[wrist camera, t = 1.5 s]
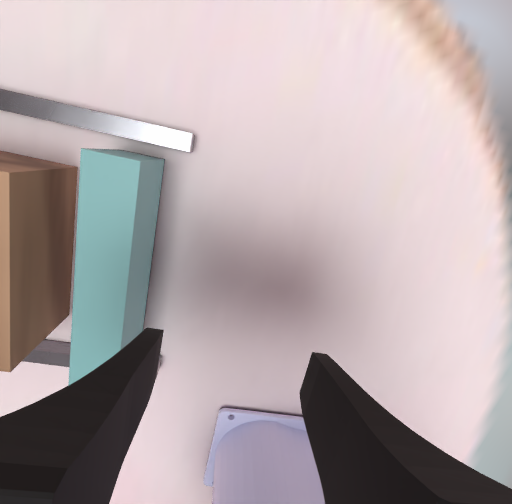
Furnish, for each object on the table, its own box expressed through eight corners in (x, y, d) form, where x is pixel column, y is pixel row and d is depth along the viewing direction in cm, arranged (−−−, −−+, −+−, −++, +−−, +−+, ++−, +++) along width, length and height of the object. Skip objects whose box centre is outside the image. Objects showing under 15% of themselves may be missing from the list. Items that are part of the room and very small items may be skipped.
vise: (194, 134, 18) (177, 125, 13) (159, 366, 23) (135, 437, 17) (-111, 63, 16) (-299, 14, 10) (-82, 334, 21) (-201, 403, 15)
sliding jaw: (164, 159, 18) (140, 161, 14) (140, 345, 22) (115, 398, 17) (112, 147, 18) (68, 145, 13) (97, 339, 22) (58, 391, 17)
